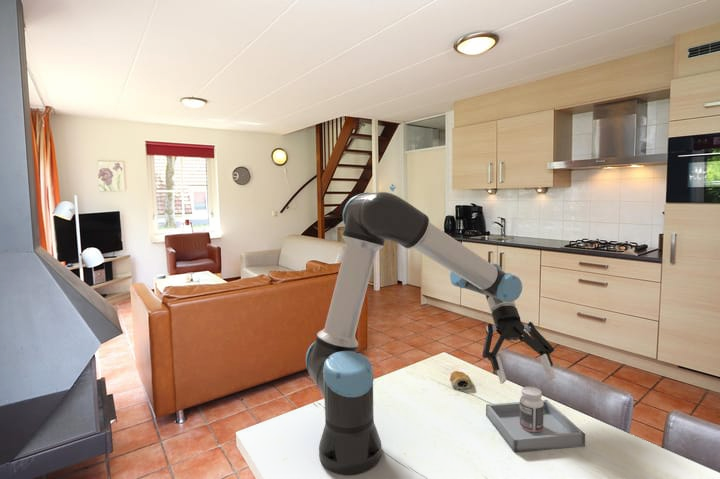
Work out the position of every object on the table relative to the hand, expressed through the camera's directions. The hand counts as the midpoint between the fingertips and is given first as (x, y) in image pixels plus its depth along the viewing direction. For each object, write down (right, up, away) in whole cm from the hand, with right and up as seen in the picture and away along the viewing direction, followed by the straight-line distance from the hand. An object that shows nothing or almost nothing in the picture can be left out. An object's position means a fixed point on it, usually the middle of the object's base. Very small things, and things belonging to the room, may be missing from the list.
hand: (527, 380), depth 103 cm
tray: (0, -12, -3) cm, 12 cm away
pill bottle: (0, -11, -3) cm, 12 cm away
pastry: (-12, -10, +23) cm, 28 cm away
